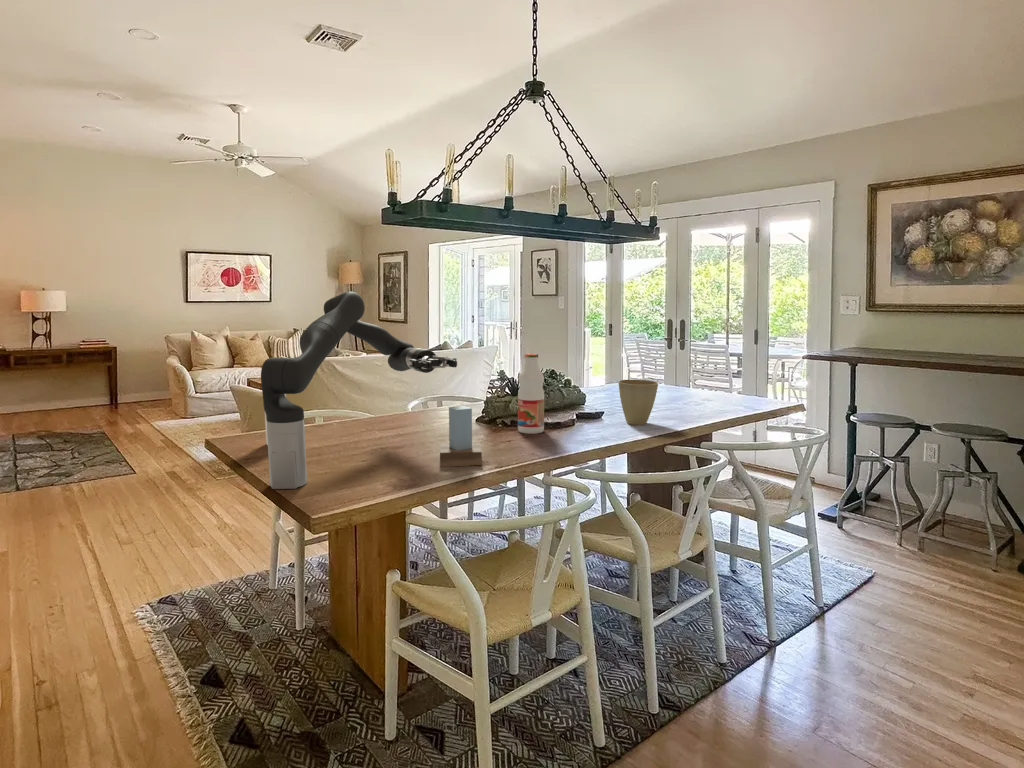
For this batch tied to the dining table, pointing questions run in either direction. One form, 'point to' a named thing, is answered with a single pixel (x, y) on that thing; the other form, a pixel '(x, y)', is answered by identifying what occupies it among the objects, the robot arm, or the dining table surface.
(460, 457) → the walnut plinth
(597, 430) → the dining table surface
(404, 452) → the dining table surface
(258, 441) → the dining table surface
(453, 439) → the blue block
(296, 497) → the dining table surface
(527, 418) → the fruit juice
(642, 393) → the plant pot
